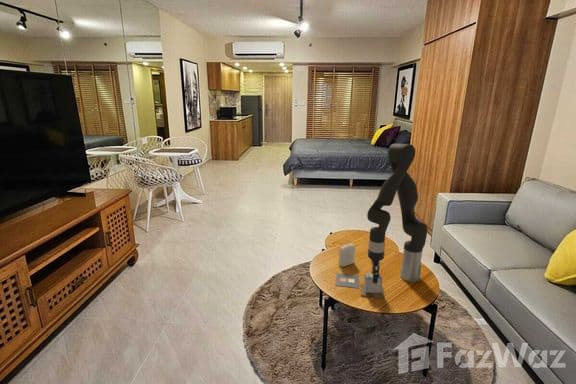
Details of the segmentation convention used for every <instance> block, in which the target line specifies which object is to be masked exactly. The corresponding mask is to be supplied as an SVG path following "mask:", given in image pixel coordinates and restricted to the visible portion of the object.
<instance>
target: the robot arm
mask: <svg viewBox="0 0 576 384" xmlns="http://www.w3.org/2000/svg"><path fill="white" fill-rule="evenodd" d="M387 156H388V161H389V164H390V168H391V171H392V173H391V175H390V176H389V177H388V178H387V179H386V180H385V181H384V182H383V184H382V185H381V188H380V190H379V193H378V195H377V198H376V199H375V201H374V202H373V203H372V205H371V206H370V208H369V209H368V211H367V213H366V217H367V220H368V221H369V222H371V223H374V224H376V225H378V226H371V228H370V229H369V230H370V231H369V238H368V239H369V241H368V248H367V257H368V259H370V264H371V274H373V283H377V282H378V278H379V274H380V266H381V261H382V260H384V258H385V249H386V248H385V247H386V243H385V242H386V240H385V239H386V233H387V230H388V227H389V224H390V222H391V219H392V218H391V214H390V212H389V211H387V210H385V209H383V207H390V206H392V204H393V203H394V200H395V196H396V194H397V196H398V201H399V206H400V212H401V213H400V214H401V223H402V229H403V232H404V233H405V234H407V236H409V237H411V238H410V240H406V241H405V242H404V244H403V251H402V252H403V253H402V259H401V271H400V278H401V279H402V280H403V281H405V282H408V283H409V282H410V283H416V282H420V280H421V273H422V272H421V271H422V266H423V265H422V258H423V257H422V256H423V249H424V247H425V245H426V241H427V235H428V226H427V224H426V223H424V222H423V221H421V220H419V219H417V217H416V215H415V207H416V205H417V204H418V200H419V193H418V187H417V184H416V182H415V180H414V179H413V178H412V176H411V175H410V174H409V173H408V171H409V169H410V166H411V165H412V164H413V161H414V159H415V157H416V148H415V146H414V145H413V144H411V143H392V144H390V146H389V148H388V150H387Z"/></svg>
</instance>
